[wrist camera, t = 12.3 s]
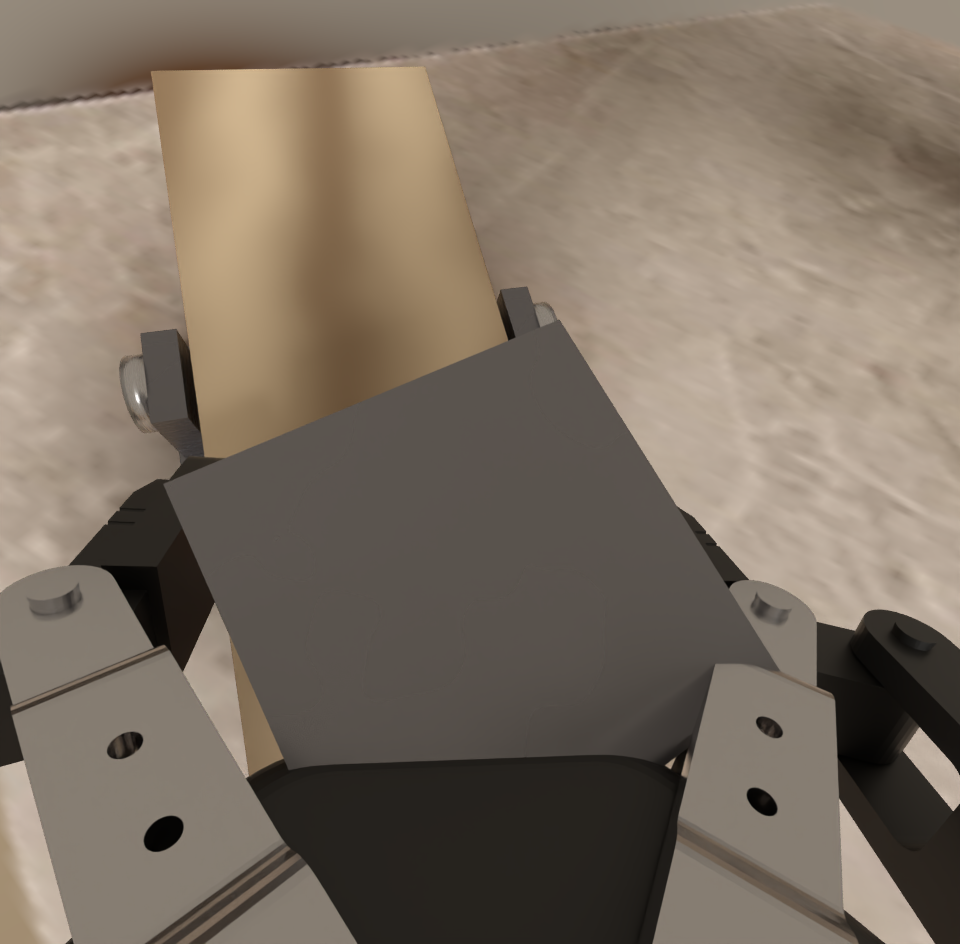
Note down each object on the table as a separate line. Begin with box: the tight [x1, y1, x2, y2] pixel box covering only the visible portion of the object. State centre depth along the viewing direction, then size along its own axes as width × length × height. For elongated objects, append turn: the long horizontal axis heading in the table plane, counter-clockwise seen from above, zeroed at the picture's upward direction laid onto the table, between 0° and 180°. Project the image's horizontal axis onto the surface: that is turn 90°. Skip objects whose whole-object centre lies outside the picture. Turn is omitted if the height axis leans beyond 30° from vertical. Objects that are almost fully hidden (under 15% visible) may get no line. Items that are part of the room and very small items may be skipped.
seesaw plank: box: [151, 67, 508, 776], centre depth 18 cm, size 10×24×2 cm, turn 15°
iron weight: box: [163, 320, 780, 770], centre depth 11 cm, size 5×5×10 cm
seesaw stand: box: [120, 287, 557, 465], centre depth 20 cm, size 14×8×6 cm, turn 105°
